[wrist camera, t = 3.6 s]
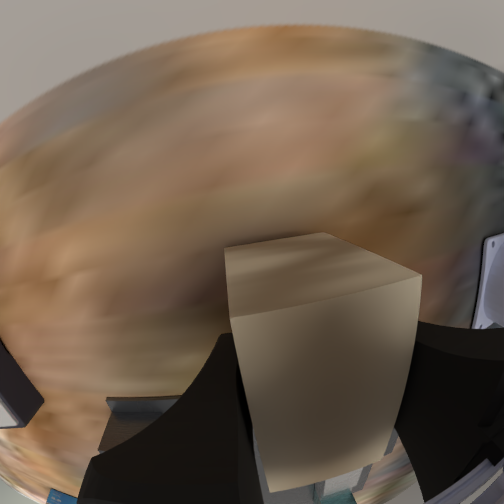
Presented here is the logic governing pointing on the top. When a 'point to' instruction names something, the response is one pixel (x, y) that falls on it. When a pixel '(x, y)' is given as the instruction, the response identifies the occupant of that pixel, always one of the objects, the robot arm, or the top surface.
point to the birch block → (320, 351)
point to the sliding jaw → (337, 489)
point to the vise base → (149, 409)
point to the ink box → (60, 498)
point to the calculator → (16, 394)
